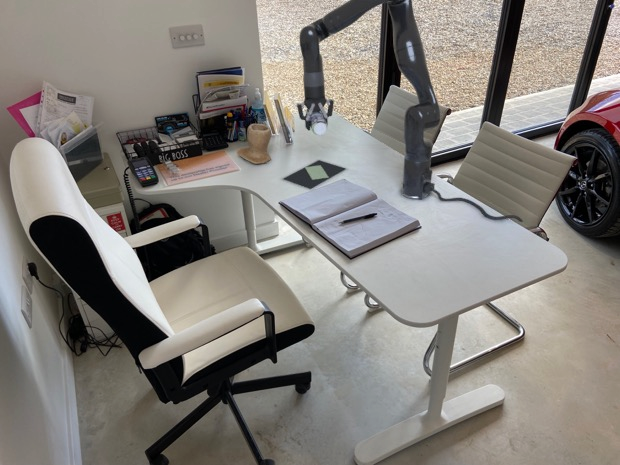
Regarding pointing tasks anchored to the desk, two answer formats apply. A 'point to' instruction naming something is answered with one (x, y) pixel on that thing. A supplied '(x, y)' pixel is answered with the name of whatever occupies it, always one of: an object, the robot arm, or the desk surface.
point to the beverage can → (318, 123)
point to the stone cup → (256, 144)
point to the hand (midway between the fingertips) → (316, 128)
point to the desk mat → (314, 174)
